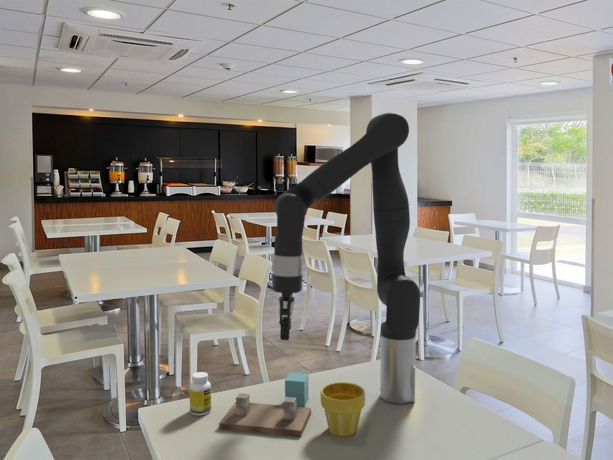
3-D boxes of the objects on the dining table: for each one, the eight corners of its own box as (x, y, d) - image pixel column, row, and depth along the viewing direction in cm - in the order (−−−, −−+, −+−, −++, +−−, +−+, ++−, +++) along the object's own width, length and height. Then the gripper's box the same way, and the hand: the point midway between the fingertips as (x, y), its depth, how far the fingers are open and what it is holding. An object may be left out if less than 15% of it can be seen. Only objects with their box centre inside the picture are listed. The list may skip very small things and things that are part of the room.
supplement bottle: (206, 417, 135) (205, 379, 134) (186, 415, 136) (185, 378, 135) (214, 407, 140) (213, 371, 139) (195, 406, 141) (194, 370, 140)
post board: (311, 413, 136) (311, 390, 136) (301, 436, 125) (300, 411, 124) (235, 407, 140) (235, 385, 140) (219, 429, 129) (218, 404, 128)
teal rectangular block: (308, 398, 145) (308, 374, 144) (304, 406, 140) (304, 381, 139) (289, 397, 146) (289, 372, 145) (285, 405, 141) (284, 380, 140)
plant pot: (341, 445, 120) (341, 403, 119) (312, 428, 128) (311, 389, 127) (373, 431, 127) (374, 391, 126) (343, 415, 135) (343, 378, 134)
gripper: (301, 278, 129) (299, 344, 131) (303, 267, 143) (301, 327, 145) (270, 277, 129) (268, 342, 131) (274, 266, 144) (273, 326, 145)
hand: (285, 334), depth 138 cm, fingers open, 8 cm apart
